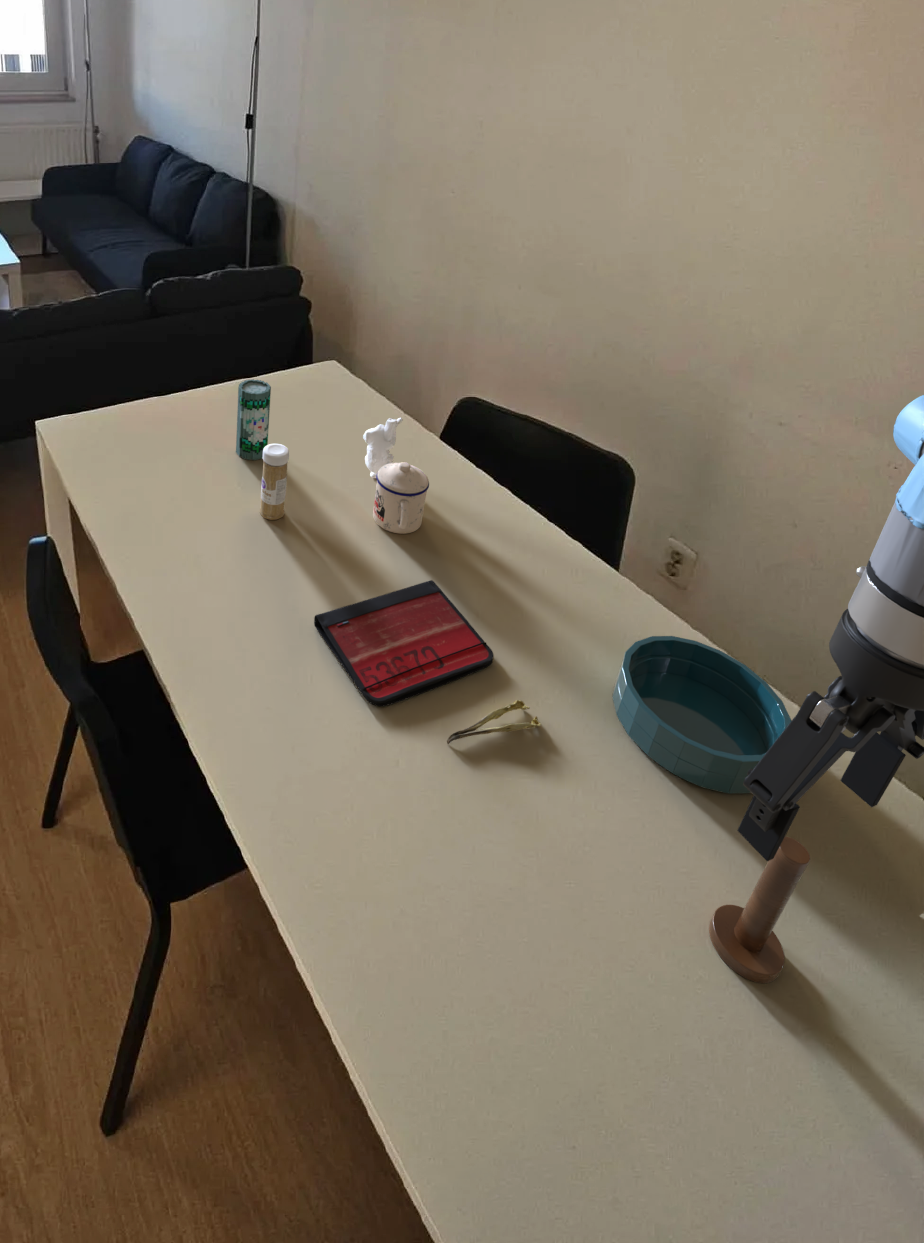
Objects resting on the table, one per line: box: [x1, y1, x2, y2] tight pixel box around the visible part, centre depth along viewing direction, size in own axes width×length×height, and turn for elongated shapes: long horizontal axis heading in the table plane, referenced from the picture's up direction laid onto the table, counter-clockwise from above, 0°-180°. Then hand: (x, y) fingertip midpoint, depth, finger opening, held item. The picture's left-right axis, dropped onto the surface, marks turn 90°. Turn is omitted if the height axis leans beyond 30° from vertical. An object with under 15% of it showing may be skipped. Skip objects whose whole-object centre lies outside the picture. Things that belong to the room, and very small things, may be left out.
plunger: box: [708, 836, 811, 984], centre depth 70 cm, size 6×6×15 cm
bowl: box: [612, 635, 793, 794], centre depth 95 cm, size 19×19×6 cm
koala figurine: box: [362, 417, 404, 479], centre depth 144 cm, size 8×7×12 cm
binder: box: [313, 579, 494, 707], centre depth 106 cm, size 16×2×21 cm
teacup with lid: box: [372, 461, 430, 535], centre depth 129 cm, size 12×9×12 cm
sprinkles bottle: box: [259, 443, 290, 521], centre depth 131 cm, size 5×5×13 cm
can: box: [235, 378, 272, 461], centre depth 149 cm, size 6×6×15 cm
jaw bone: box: [446, 699, 542, 745], centre depth 94 cm, size 4×13×2 cm, turn 113°
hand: (808, 817), depth 65 cm, fingers open, 13 cm apart
